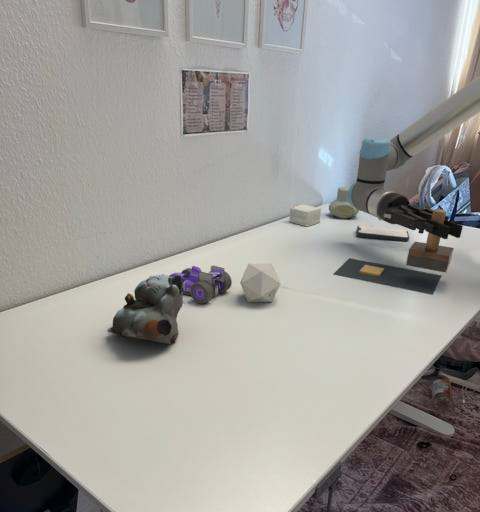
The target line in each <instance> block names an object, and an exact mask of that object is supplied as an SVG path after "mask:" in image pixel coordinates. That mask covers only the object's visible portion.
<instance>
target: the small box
mask: <svg viewBox="0 0 480 512" xmlns="http://www.w3.org/2000/svg"><path fill="white" fill-rule="evenodd" d="M321 214H322V208H321V207H317V206H314V205H313V206H312V205H309V204H303V203H302V204H299V205H296V206H291V207H290V208H289V219H288V220H289V223H291V224H296V225H300V226H303V227H311V226H313V225H316V224H320V223H321Z"/></svg>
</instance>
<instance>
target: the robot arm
mask: <svg viewBox="0 0 480 512" xmlns="http://www.w3.org/2000/svg"><path fill="white" fill-rule="evenodd" d="M478 114H480V75H478V76H477V77H476V78H474V79H473V80H471V81H470V82H469V83H467V84H466V85H464V86H463V87H462V88H459V90H458V91H456V92H454V93H453V94H452V95H451V96H449V97H448V98H447V99H445V100H444V101H443V102H440V103H439V104H438V105H437V106H435V107H434V108H433V109H431V110H430V111H428V112H427V113H426V114H424V115H422V116H421V117H420V118H418V120H416V121H415V122H413V123H412V124H411V125H409V126H407V127H406V128H405V129H404V130H402V131H401V132H400V133H398V134H397V135H395V136H394V137H392V138H391V139H389V138H387V137H376V136H375V137H374V136H372V137H365V138H364V139H363V140H362V142H361V145H360V146H361V147H360V150H359V157H358V158H359V160H358V167H357V176H356V181H355V182H353V183H352V184H351V185H350V186H349V187H350V189H349V190H348V193H347V199H348V202H349V203H350V205H352V206H353V207H355V208H356V209H358V210H359V212H363V213H365V214H368V215H370V216H372V217H375V218H377V219H378V221H384V222H385V223H388V224H390V225H397V226H399V227H400V226H401V227H403V228H406V229H409V230H412V231H416V230H418V234H424V232H426V233H431V234H434V235H436V236H438V237H441V238H440V239H443V240H448V239H449V235H450V236H452V237H454V238H457V239H461V235H462V232H463V227H464V225H463V224H462V225H461V224H459V223H457V222H454V221H451V220H449V219H450V216H448V215H446V216H445V220H444V224H441V223H439V222H436V221H433V220H431V219H432V214H433V210H434V209H431V207H429V206H424V207H423V208H422V207H418V206H416V205H414V204H411V203H410V200H409V199H408V197H407V196H405V195H403V194H400V193H398V192H395V191H393V190H389V189H386V188H384V187H385V182H386V176H387V172H389V171H392V170H396V169H399V168H401V167H402V166H404V165H405V164H406V163H407V162H408V161H409V160H410V159H412V158H413V157H415V156H416V155H418V154H419V153H421V152H423V151H424V150H425V149H427V148H428V147H430V146H431V145H433V144H434V143H436V142H437V141H440V139H442V138H443V137H445V136H447V135H448V134H449V133H451V132H452V131H454V130H455V129H457V128H459V127H460V126H461V125H463V124H465V123H466V122H468V121H469V120H470V119H472V118H473V117H475V116H477V115H478Z"/></svg>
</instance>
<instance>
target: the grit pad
mask: <svg viewBox="0 0 480 512" xmlns="http://www.w3.org/2000/svg"><path fill="white" fill-rule="evenodd" d="M383 271H384V268H379V267H374V266H369V265H364V267H363V268H362V269H361V270H360V272H359V273H363V274H368V275H373V276H378V277H379V276H380V275H381V273H382V272H383Z"/></svg>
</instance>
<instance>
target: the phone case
mask: <svg viewBox="0 0 480 512" xmlns="http://www.w3.org/2000/svg"><path fill="white" fill-rule="evenodd" d="M356 236H357V237H359V238H369V239H379V240H387V241H397V242H409V241H410V235H409V231H408V230H406V229H397V228H389V227H378V226H369V225H357V227H356Z"/></svg>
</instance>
